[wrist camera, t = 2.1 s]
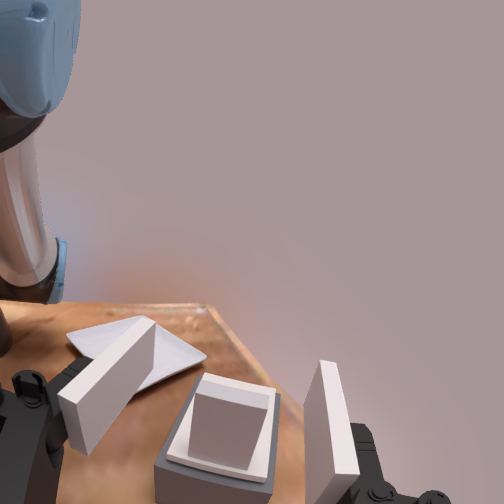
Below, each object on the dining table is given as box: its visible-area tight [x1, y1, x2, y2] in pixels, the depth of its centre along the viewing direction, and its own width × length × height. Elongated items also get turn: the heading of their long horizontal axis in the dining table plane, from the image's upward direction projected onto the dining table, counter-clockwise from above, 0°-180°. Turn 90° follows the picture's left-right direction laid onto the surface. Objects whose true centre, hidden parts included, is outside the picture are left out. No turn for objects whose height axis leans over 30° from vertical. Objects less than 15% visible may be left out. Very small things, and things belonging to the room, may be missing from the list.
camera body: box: [154, 375, 281, 504], centre depth 34 cm, size 20×12×9 cm, turn 173°
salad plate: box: [66, 315, 207, 394], centre depth 55 cm, size 21×21×3 cm
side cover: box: [166, 373, 276, 483], centre depth 31 cm, size 16×10×10 cm, turn 173°
